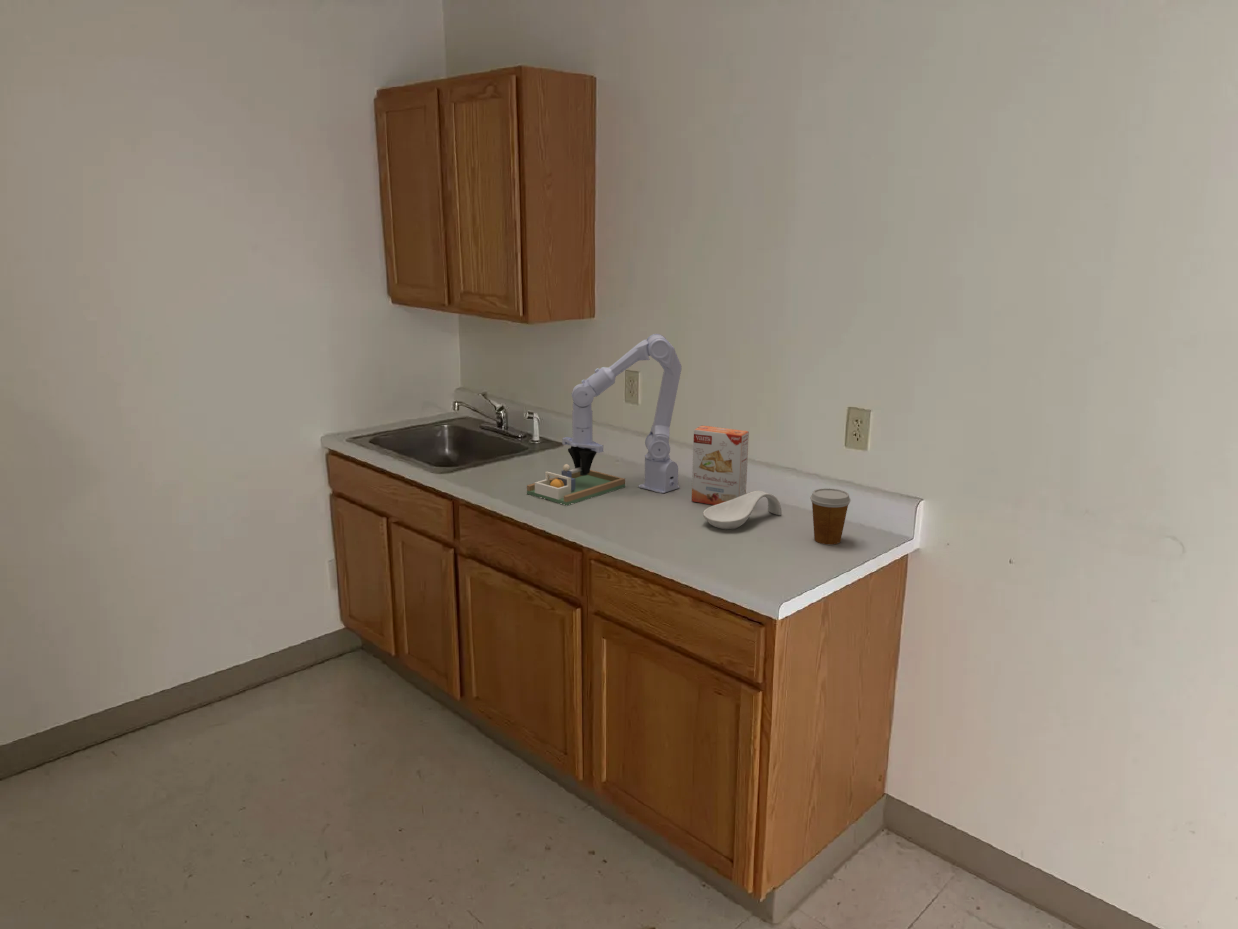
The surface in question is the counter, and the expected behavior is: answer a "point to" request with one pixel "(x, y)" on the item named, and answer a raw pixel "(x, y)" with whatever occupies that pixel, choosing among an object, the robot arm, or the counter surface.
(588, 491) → the pitch
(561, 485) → the ball
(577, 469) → the striker
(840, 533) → the disposable coffee cup
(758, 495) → the spoon rest
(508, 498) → the counter surface
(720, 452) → the cracker box
